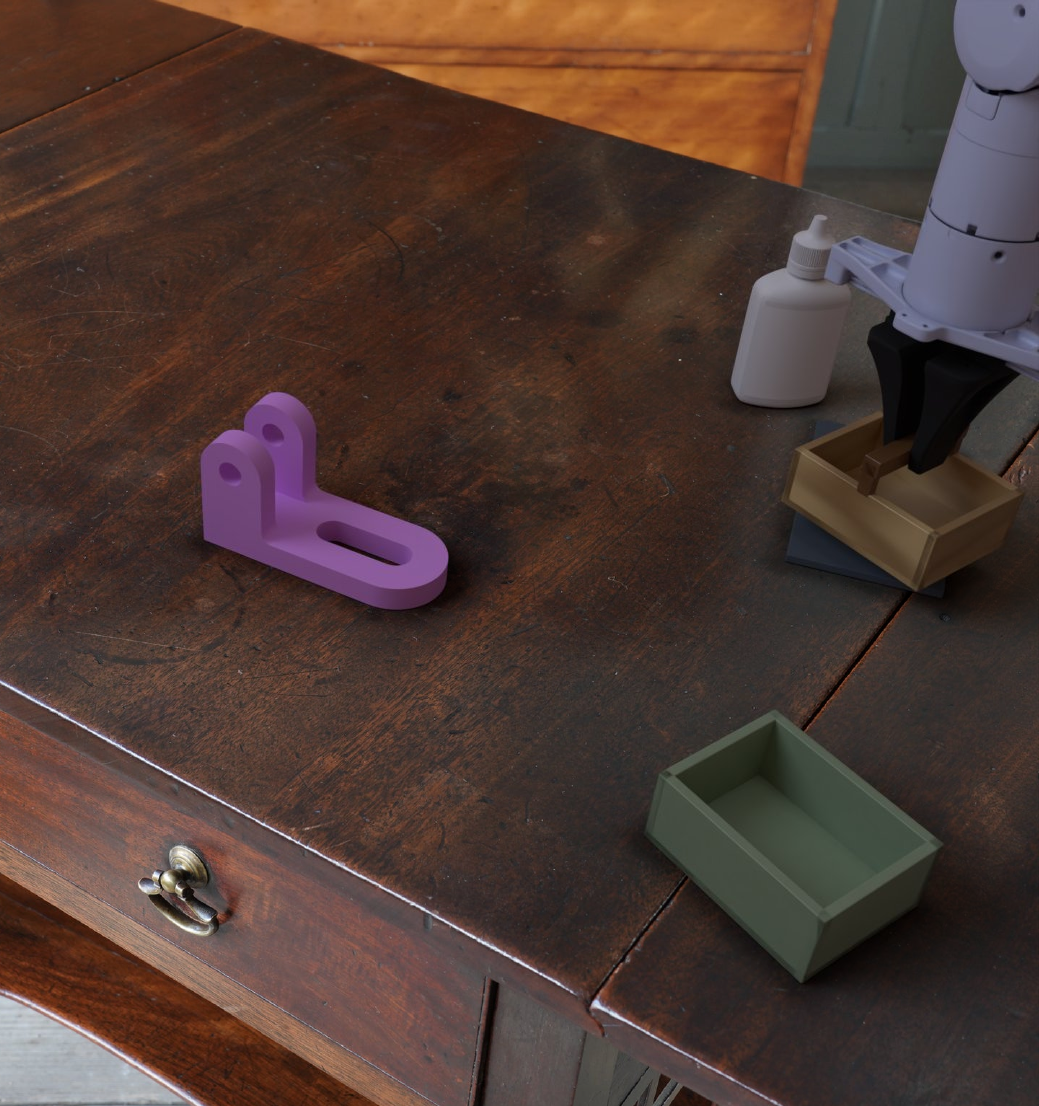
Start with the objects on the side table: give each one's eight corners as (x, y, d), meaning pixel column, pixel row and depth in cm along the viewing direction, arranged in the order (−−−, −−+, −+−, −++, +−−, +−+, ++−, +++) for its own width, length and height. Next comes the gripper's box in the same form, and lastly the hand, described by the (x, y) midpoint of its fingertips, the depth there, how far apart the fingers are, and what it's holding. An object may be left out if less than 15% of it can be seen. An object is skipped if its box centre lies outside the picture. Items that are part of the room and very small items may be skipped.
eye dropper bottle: (813, 423, 88) (863, 244, 81) (722, 399, 90) (762, 221, 83) (829, 389, 91) (878, 213, 84) (740, 366, 93) (781, 192, 86)
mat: (941, 598, 76) (944, 591, 75) (784, 561, 78) (786, 554, 78) (955, 454, 86) (957, 447, 85) (815, 425, 88) (817, 418, 88)
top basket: (1005, 545, 76) (1039, 459, 72) (916, 592, 73) (948, 505, 69) (867, 460, 82) (893, 377, 78) (780, 501, 79) (803, 416, 75)
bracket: (204, 539, 79) (199, 433, 75) (258, 487, 83) (257, 384, 78) (416, 623, 74) (424, 514, 70) (464, 563, 78) (475, 457, 73)
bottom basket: (917, 906, 61) (945, 844, 58) (801, 984, 58) (825, 922, 55) (756, 770, 66) (775, 708, 64) (643, 835, 63) (658, 772, 61)
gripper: (810, 176, 69) (752, 414, 78) (1082, 305, 60) (982, 560, 68) (908, 143, 72) (842, 376, 81) (1182, 261, 63) (1074, 510, 71)
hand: (912, 458), depth 75 cm, fingers closed on top basket
